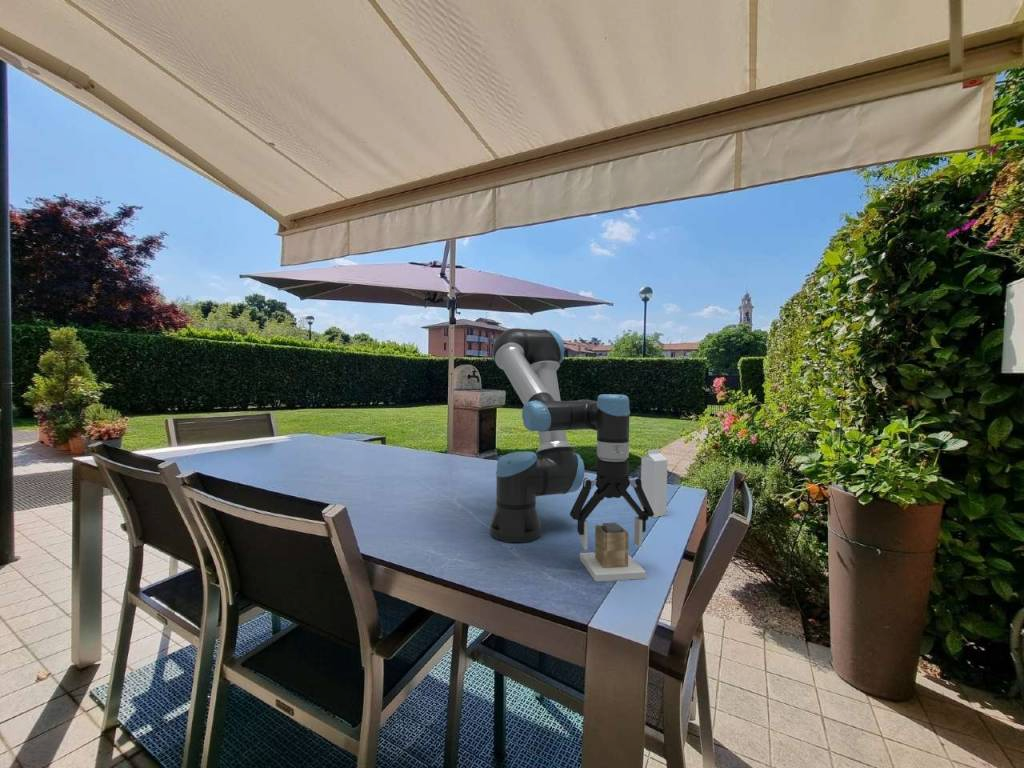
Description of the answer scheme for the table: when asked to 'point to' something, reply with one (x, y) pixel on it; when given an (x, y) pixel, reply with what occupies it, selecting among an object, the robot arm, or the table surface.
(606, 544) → the collar
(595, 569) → the post board
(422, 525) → the table surface
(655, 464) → the milk
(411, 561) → the table surface
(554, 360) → the robot arm
